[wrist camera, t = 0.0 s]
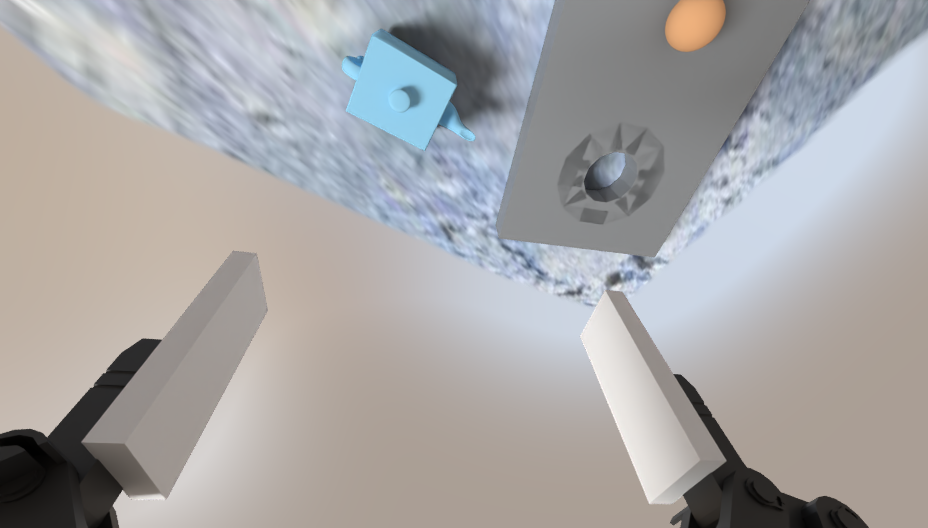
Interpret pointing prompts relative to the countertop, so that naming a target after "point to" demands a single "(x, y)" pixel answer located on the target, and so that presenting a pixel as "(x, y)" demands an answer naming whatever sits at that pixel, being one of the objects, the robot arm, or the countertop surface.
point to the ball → (694, 23)
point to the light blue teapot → (403, 91)
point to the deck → (630, 119)
